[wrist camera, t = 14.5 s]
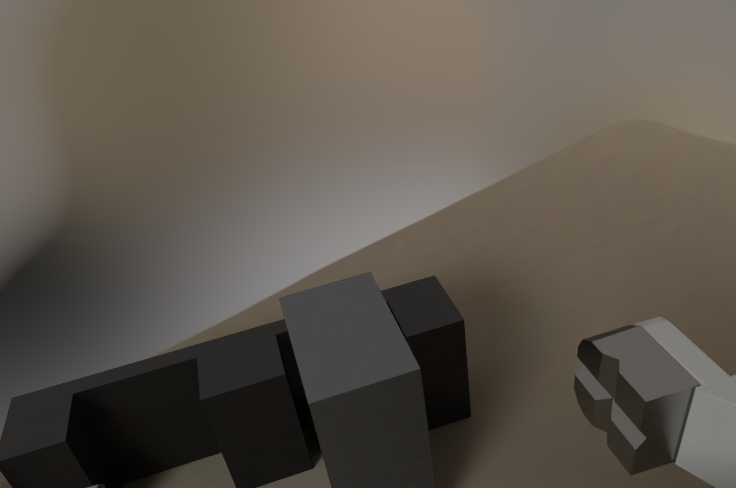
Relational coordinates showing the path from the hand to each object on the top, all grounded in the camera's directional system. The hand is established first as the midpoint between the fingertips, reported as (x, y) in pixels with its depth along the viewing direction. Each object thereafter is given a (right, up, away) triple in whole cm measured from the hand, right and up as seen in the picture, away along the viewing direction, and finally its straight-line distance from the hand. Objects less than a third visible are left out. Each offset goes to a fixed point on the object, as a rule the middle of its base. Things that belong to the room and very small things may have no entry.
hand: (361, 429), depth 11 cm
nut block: (0, -9, +22) cm, 24 cm away
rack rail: (-5, -8, +24) cm, 26 cm away
